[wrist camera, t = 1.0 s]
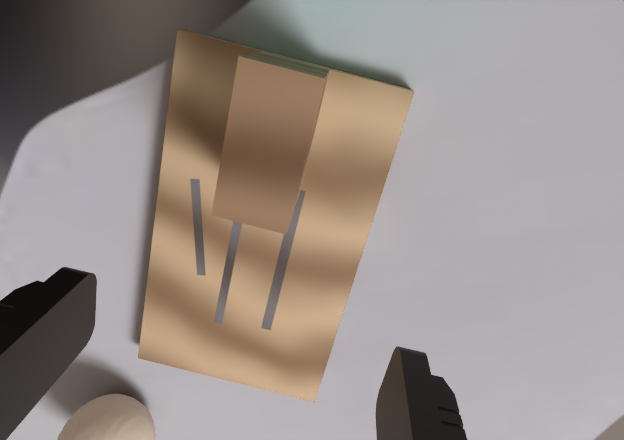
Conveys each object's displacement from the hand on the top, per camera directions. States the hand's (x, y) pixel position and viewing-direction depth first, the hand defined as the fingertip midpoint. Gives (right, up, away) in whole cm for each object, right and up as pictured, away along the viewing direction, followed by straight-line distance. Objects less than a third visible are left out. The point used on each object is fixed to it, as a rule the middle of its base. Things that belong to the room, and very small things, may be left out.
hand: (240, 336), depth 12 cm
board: (-2, +2, +20) cm, 20 cm away
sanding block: (0, +9, +16) cm, 18 cm away
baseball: (-14, -13, +27) cm, 33 cm away
